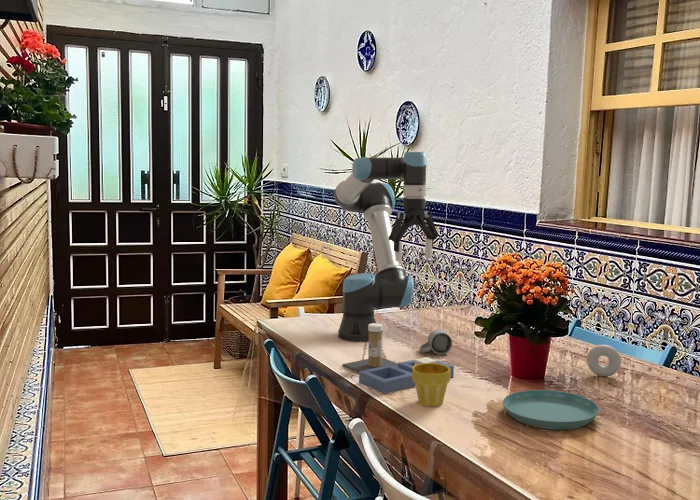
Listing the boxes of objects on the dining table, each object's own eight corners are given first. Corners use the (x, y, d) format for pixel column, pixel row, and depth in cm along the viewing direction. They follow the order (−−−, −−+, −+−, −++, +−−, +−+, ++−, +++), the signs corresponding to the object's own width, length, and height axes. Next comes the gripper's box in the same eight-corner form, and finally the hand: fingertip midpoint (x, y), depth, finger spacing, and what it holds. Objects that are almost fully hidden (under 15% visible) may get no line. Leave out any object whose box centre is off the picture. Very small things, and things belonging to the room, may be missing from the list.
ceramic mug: (447, 348, 250) (447, 326, 249) (452, 354, 242) (452, 332, 241) (417, 349, 249) (417, 327, 248) (421, 355, 241) (421, 333, 240)
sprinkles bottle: (365, 365, 226) (365, 324, 224) (373, 362, 229) (374, 321, 227) (376, 368, 223) (376, 326, 221) (385, 365, 226) (385, 324, 224)
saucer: (552, 395, 201) (552, 384, 201) (619, 424, 180) (620, 411, 180) (483, 409, 190) (483, 397, 190) (546, 441, 169) (547, 427, 169)
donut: (620, 377, 217) (622, 345, 216) (619, 380, 214) (621, 348, 213) (586, 372, 222) (588, 341, 220) (585, 375, 218) (586, 344, 217)
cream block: (414, 375, 219) (414, 359, 218) (426, 372, 222) (426, 357, 221) (424, 379, 215) (425, 363, 214) (437, 376, 218) (437, 360, 217)
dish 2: (398, 374, 220) (398, 363, 219) (427, 367, 227) (427, 356, 226) (423, 384, 210) (424, 372, 210) (453, 377, 217) (453, 365, 217)
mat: (342, 366, 228) (342, 364, 227) (379, 358, 236) (379, 356, 236) (370, 378, 215) (370, 375, 215) (408, 369, 224) (408, 367, 224)
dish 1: (359, 382, 211) (359, 371, 211) (390, 375, 218) (390, 364, 218) (384, 393, 201) (384, 381, 201) (416, 386, 208) (416, 374, 208)
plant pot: (425, 411, 187) (425, 375, 186) (404, 399, 197) (405, 365, 195) (457, 405, 192) (458, 370, 191) (435, 394, 201) (436, 360, 200)
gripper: (392, 199, 231) (392, 264, 233) (449, 197, 245) (447, 257, 248) (378, 198, 237) (378, 261, 239) (434, 195, 251) (433, 255, 254)
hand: (413, 259), depth 244 cm, fingers open, 13 cm apart
